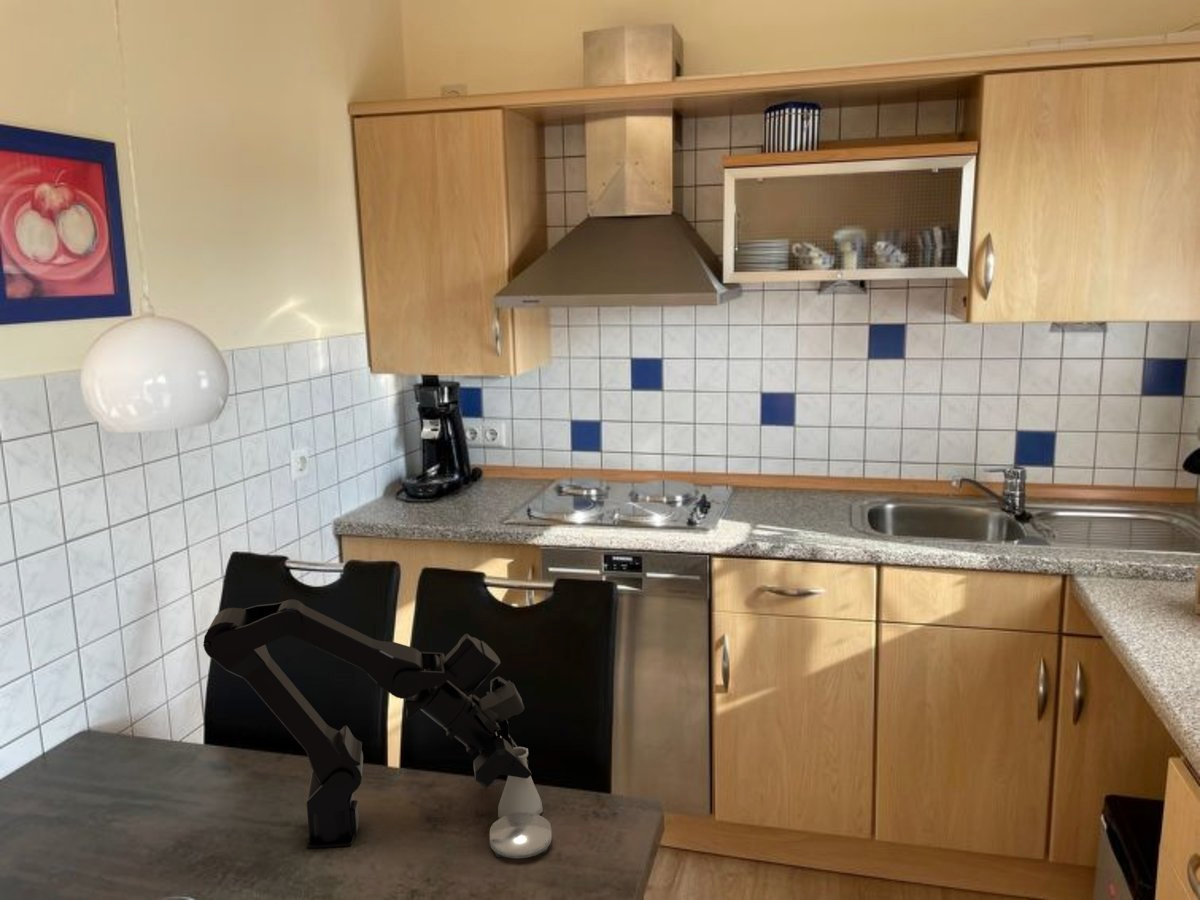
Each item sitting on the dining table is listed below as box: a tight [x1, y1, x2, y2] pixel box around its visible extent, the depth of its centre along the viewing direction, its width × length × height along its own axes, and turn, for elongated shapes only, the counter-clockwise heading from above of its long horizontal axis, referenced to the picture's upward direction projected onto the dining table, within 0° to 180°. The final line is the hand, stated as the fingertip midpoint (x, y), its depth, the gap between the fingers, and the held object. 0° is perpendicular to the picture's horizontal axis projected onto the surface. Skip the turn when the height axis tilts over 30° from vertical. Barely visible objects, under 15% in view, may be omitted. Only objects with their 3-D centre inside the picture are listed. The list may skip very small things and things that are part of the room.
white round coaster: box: [489, 813, 553, 859], centre depth 134 cm, size 9×9×2 cm
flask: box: [497, 746, 544, 819], centre depth 142 cm, size 7×7×10 cm
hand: (528, 770), depth 142 cm, fingers closed on flask, 3 cm apart
